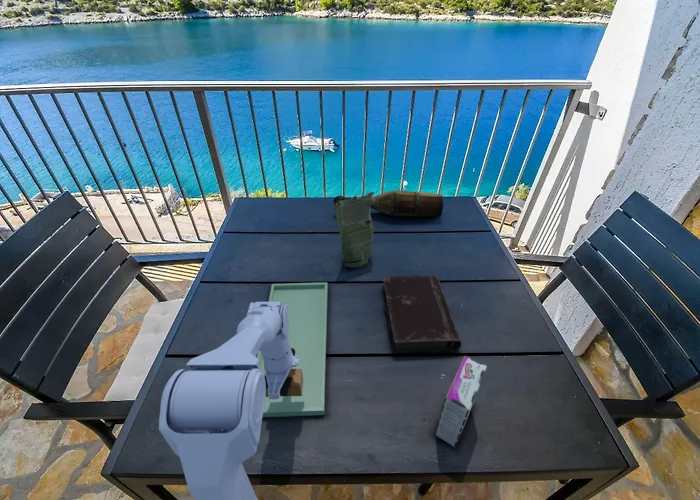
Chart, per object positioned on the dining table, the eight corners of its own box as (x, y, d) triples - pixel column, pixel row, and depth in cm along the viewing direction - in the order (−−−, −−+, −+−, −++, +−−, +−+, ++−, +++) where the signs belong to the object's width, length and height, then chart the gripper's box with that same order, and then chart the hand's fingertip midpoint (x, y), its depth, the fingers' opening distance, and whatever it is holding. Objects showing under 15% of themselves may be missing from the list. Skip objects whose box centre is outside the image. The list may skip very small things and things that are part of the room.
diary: (437, 285, 112) (439, 274, 109) (459, 351, 93) (463, 339, 90) (379, 287, 112) (380, 276, 109) (390, 354, 92) (391, 342, 89)
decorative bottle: (439, 200, 149) (334, 196, 151) (445, 186, 139) (332, 182, 141) (440, 222, 145) (332, 218, 147) (446, 210, 135) (330, 206, 137)
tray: (324, 415, 80) (323, 410, 78) (247, 417, 79) (245, 413, 78) (327, 287, 112) (327, 282, 111) (272, 288, 112) (271, 283, 111)
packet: (301, 396, 77) (299, 385, 74) (265, 396, 77) (262, 385, 74) (303, 379, 80) (301, 368, 77) (268, 380, 80) (265, 369, 77)
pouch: (334, 265, 120) (331, 203, 105) (345, 245, 129) (344, 185, 114) (365, 272, 118) (367, 208, 102) (374, 251, 127) (377, 190, 111)
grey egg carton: (451, 395, 83) (464, 354, 73) (471, 406, 81) (488, 365, 71) (432, 435, 76) (445, 396, 66) (455, 449, 74) (471, 410, 64)
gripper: (291, 381, 63) (298, 417, 72) (299, 319, 75) (304, 356, 83) (252, 381, 63) (264, 417, 72) (266, 319, 75) (275, 356, 83)
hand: (284, 384), depth 77 cm, fingers closed on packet, 4 cm apart
